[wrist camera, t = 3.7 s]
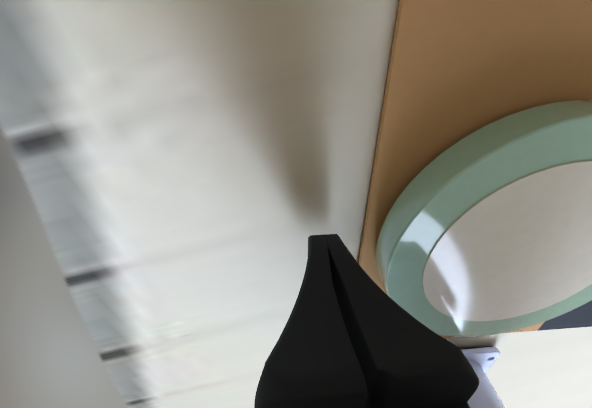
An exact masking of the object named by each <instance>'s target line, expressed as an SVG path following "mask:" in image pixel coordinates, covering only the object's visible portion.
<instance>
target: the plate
mask: <svg viewBox="0 0 592 408" xmlns="http://www.w3.org/2000/svg"><path fill="white" fill-rule="evenodd" d="M376 265H377V270H378V274H379V277H380V280H381V282H382V285H383V287H384V290H385V292H386V294H387V295H388V296H389V297H390V298H391V299H392V300H394V301H395V302H396V303H397V304H398V305H399V306H400V307H402V308H403V309H404V310H405V311H407V312H408V313H409V314H410V315H412V316H413V317H414V318H415V319H417V320H418V321H419V322H421V323H422V324H423V325H425V326H426V327H428V328H429V329H430V330H432V331H433V332H435V333H436V334H438V335H445V336H456V337H474V336H485V335H494V334H499V333H505V332H510V331H514V330H518V329H522V328H525V327H529V326H532V325H535V324H539V323H541V322H544V321H547V320H550V319H552V318H555V317H557V316H560V315H562V314H564V313H567V312H569V311H571V310H573V309H575V308H577V307H580V306H582V305H584V304H586V303H587V302H589V301H591V300H592V101H590V100H574V101H564V102H555V103H550V104H546V105H541V106H537V107H532V108H529V109H526V110H523V111H520V112H517V113H514V114H511V115H508V116H505V117H503V118H501V119H499V120H497V121H494V122H492V123H490V124H488V125H486V126H483V127H482V128H480V129H478V130H476V131H475V132H473V133H471V134H469V135H468V136H466V137H464V138H462V139H461V140H459V141H458V142H457V143H455V144H454V145H452V146H451V147H449V148H448V149H447V150H445V151H444V152H442V153H441V154H440V155H439V156H437V157H436V158H435V159H434V160H433V161H432V162H430V163H429V164H428V165H427V166H426V167H425V168H423V169H422V170H421V172H420V173H419V174H418V175H417V176H416V177H415V178H414V179H413V180H412V181H411V182H410V183H409V184H408V185H407V187H406V188H405V189H404V190H403V192H402V193H401V194H400V196H399V197H398V198H397V200H396V201H395V203H394V204H393V206H392V208H391V209H390V211H389V213H388V214H387V217H386V219H385V221H384V223H383V226H382V228H381V231H380V234H379V238H378V242H377V250H376Z"/></svg>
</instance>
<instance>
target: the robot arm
mask: <svg viewBox="0 0 592 408" xmlns="http://www.w3.org/2000/svg"><path fill="white" fill-rule="evenodd" d="M499 355H500V352H499V350H498V349H497V348H496V347H486V348H473V349H460V348H459V347H457V346H455V345H454V344H452V343H451V342H449V341H447V340H446V339H444V338H443V337H441V336H439V335H438V334H436V333H435V332H433V331H432V330H430V329H429V328H428V327H426V326H425V325H423V324H422V323H421V322H419V321H418V320H417V319H415V318H414V317H413V316H412V315H410V314H409V313H408V312H407V311H405V310H404V309H403V308H402V307H400V306H399V305H398V304H397V303H396V302H395V301H394V300H392V299H391V298H390V297H389V296H388V295H387V294H386V293H385V292H384V291H383V290H382V289H381V288H380V287H379V286H378V285H377V284H376V283H375V282H374V281H373V280H372V279H371V278H370V277H369V275H368V274H367V273H366V272H365V271H364V270H363V269H362V267H361V266H360V265H359V264H358V262H357V261H356V260H355V259H354V257H353V256H352V255H351V253H350V252H349V251H348V249H347V248H346V246H345V245H344V243H343V242H342V240H341V239H340V237H339V236H338V235H337V234H330V235H313V236H310V237H308V261H307V266H306V271H305V275H304V278H303V282H302V286H301V289H300V292H299V295H298V298H297V300H296V303H295V305H294V308H293V310H292V313H291V315H290V317H289V320H288V322H287V324H286V326H285V328H284V330H283V332H282V334H281V336H280V338H279V340H278V342H277V343H276V345H275V347H274V349H273V350H272V352H271V354H270V355H269V357H268V359H267V361H266V363H265V366H264V369H263V372H262V375H261V378H260V381H259V384H258V387H257V391H256V396H255V408H505V407H504V405H503V403H502V402H501V400H500V398H499V396H498V395H497V393H496V391H495V390H494V388H493V386H492V385H491V383H490V381H489V380H488V378H487V376H486V374H485V373H486V372H487V371H488V369H489V368H490V367H491V365H492V364H493V363H494V361H495V360H496V359H497V357H498V356H499Z"/></svg>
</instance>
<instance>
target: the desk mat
mask: <svg viewBox="0 0 592 408" xmlns="http://www.w3.org/2000/svg"><path fill="white" fill-rule="evenodd" d="M574 100H590V101H592V0H399V7H398V13H397V20H396V26H395V32H394V39H393V45H392V51H391V58H390V64H389V71H388V77H387V83H386V90H385V96H384V102H383V109H382V115H381V122H380V128H379V134H378V141H377V147H376V153H375V160H374V166H373V173H372V179H371V185H370V192H369V198H368V204H367V211H366V217H365V224H364V230H363V236H362V243H361V249H360V255H359V262H358V264H359V265H360V266H361V267H362V269H363V270H364V271H365V272H366V273H367V274H368V275H369V277H370V278H371V279H372V280H373V281H374V282H375V283H376V284H377V285H378V286H379V287H380V288H381V289H382V290H383V291H384V292H385V290H384V287H383V285H382V282H381V280H380V277H379V274H378V270H377V265H376V250H377V242H378V238H379V234H380V231H381V228H382V226H383V223H384V221H385V219H386V217H387V214H388V213H389V211H390V209H391V208H392V206H393V204H394V203H395V201H396V200H397V198H398V197H399V196H400V194H401V193H402V192H403V190H404V189H405V188H406V187H407V185H408V184H409V183H410V182H411V181H412V180H413V179H414V178H415V177H416V176H417V175H418V174H419V173H420V172H421V170H422V169H423V168H425V167H426V166H427V165H428V164H429V163H430V162H432V161H433V160H434V159H435V158H436V157H437V156H439V155H440V154H441V153H442V152H444V151H445V150H447V149H448V148H449V147H451V146H452V145H454V144H455V143H457V142H458V141H459V140H461V139H462V138H464V137H466V136H468V135H469V134H471V133H473V132H475V131H476V130H478V129H480V128H482V127H483V126H486V125H488V124H490V123H492V122H494V121H497V120H499V119H501V118H503V117H505V116H508V115H511V114H514V113H517V112H520V111H523V110H526V109H529V108H532V107H537V106H541V105H546V104H550V103H555V102H564V101H574ZM385 293H386V292H385ZM590 326H592V300H591V301H589V302H587V303H586V304H584V305H582V306H580V307H577V308H575V309H573V310H571V311H569V312H567V313H564V314H562V315H560V316H557V317H555V318H552V319H550V320H547V321H544V322H541V323H539V324H535V325H532V326H529V327H525V328H522V329H518V330H514V331H510V332H523V331H536V330H550V329H563V328H576V327H590ZM510 332H505V333H510ZM439 336H441V337H456V336H445V335H439Z"/></svg>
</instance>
